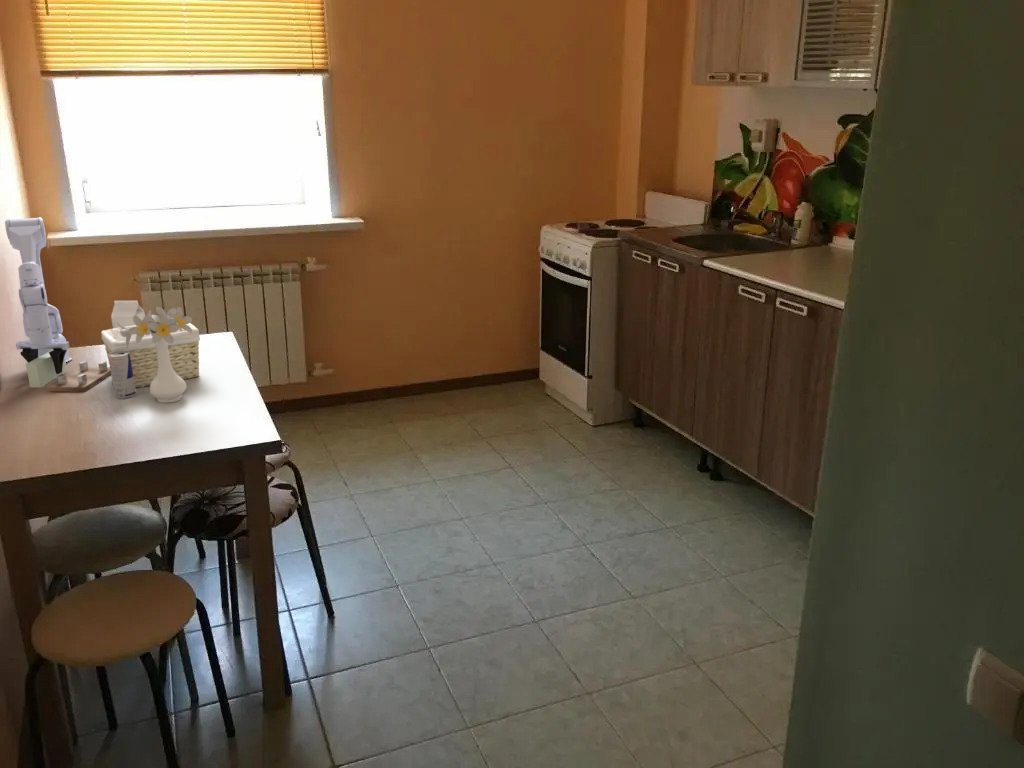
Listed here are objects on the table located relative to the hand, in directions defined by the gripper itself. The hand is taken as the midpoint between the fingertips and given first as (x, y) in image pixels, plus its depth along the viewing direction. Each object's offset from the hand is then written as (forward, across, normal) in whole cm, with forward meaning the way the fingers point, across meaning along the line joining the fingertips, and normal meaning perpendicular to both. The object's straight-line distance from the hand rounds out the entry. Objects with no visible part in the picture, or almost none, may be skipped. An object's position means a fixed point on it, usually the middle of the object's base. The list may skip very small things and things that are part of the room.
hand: (48, 372), depth 248 cm
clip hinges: (+1, +11, -1) cm, 11 cm away
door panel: (+2, 0, 0) cm, 2 cm away
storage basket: (+2, +31, +2) cm, 31 cm away
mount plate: (+2, +11, -1) cm, 11 cm away
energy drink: (+2, +29, -13) cm, 32 cm away
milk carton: (+2, +17, +18) cm, 25 cm away
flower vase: (+2, +42, -16) cm, 45 cm away
